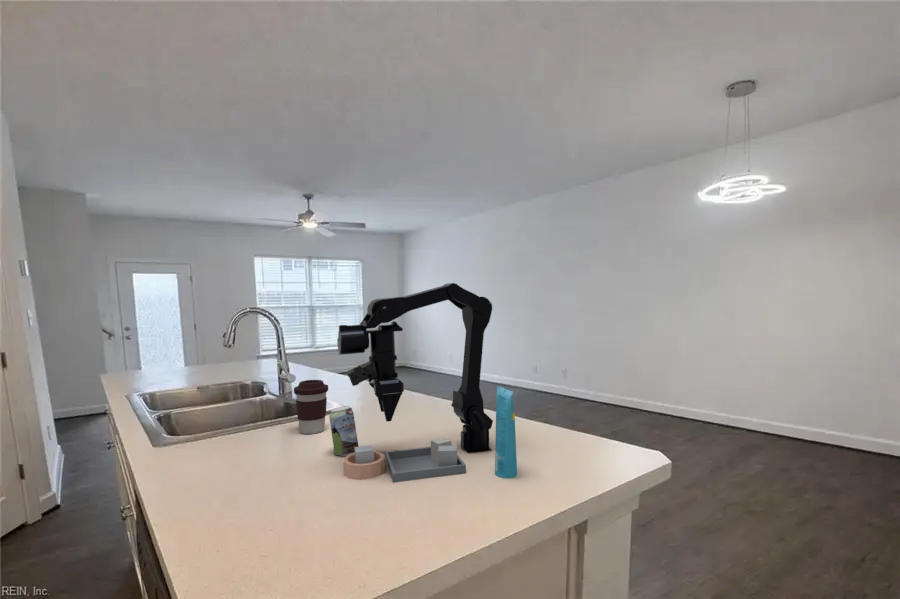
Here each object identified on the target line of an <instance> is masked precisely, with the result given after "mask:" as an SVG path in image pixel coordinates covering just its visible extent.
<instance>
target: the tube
mask: <svg viewBox="0 0 900 599" xmlns="http://www.w3.org/2000/svg"><path fill="white" fill-rule="evenodd" d="M495 399H496V401H495V405H496V406H495V444H494V445H495V447H494V450H495V451H494V454H495V456H494V463H495V464H494V474H495V476H496V477H498V478H500V479H513V478H516V477H517V476H518V460H517V442H516V440H517V439H516V420H515V419H516V418H515V417H516V416H515V406H514V405H515V404H514V391H511V390H509V389H506V388H505V387H502V386H499V385H497V386H496V398H495Z"/></svg>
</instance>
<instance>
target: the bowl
mask: <svg viewBox="0 0 900 599" xmlns="http://www.w3.org/2000/svg"><path fill="white" fill-rule="evenodd" d="M385 471H386V460H385V453H382V452H379V451H377V450H376V451H375V450H374V462H371V463H366V464H355V453H352V454H349V455H347V456H344V457H343V476H344V477H346V478H347V479H351V480H357V481H358V480H359V481H361V480H369V479H375V478H376V477H380V476H381V475H383V474H384V472H385Z"/></svg>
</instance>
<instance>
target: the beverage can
mask: <svg viewBox="0 0 900 599" xmlns="http://www.w3.org/2000/svg"><path fill="white" fill-rule="evenodd" d="M354 414H355V413H354V410H353V409H351V406H349V405H347V406H341V407H336V408H333V409H331V410H330V414H329V423H330V424H329V425H330V430H331V432H330V433H331V437H332V445H333V452H334V455H336V456H339V457H346V456H347V455H349V454H352V453H355V447H360V446H359V441H358V440H359V439H358V433H357V429H356V421H355V415H354Z"/></svg>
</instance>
